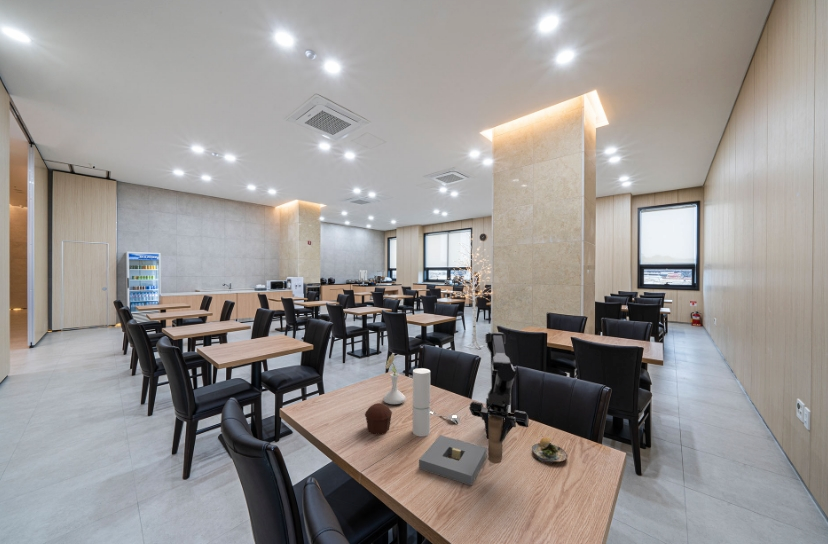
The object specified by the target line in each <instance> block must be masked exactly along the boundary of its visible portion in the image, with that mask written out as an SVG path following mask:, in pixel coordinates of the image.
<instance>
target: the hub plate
mask: <svg viewBox="0 0 828 544" xmlns="http://www.w3.org/2000/svg"><path fill="white" fill-rule="evenodd" d="M449 456H450V457H449ZM487 457H488V447H486V446H482V445H479V444H475V443H471V442H467V441H464V440H460V439H455V438H452V437H449V436H445V435H442V434H441V435H439V436H438V437H437V438H436V440H435V441H434V442H433V443H432V444H431V445H430V446H429V448H427V450H425V452H424V453H423V454H422V456H421V457H420V458H419V459H418V469H419V470H421V471H425V472H428V473H431V474H434V475H438V476H440V477H443V478H447V479H449V480H453V481H456V482H458V483H461V484H465V485H468V486H473V484H474V481H475V480H476V477H477V476H478V474H479V472H480V471H481V468H482V466H483V464H484V462H485V460H486V458H487Z"/></svg>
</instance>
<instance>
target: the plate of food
mask: <svg viewBox="0 0 828 544" xmlns="http://www.w3.org/2000/svg"><path fill="white" fill-rule="evenodd" d="M541 437H542V438H541V439H540V441H539V443H536V444H534V445H532V447H531V455H532V457H533V458H534V459H536V460H537V461H539V462H540V463H544V464H546V465H548V466H552V465H553V463H560V462H563V461H565V460H567V458H568V454H567V451H565V450H564V449H563V448H562V447H560V446H558V445H556V444H553V443H552V442H551V439H550V438H548V437H544V436H543V435H541Z"/></svg>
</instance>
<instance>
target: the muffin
mask: <svg viewBox="0 0 828 544" xmlns="http://www.w3.org/2000/svg"><path fill="white" fill-rule="evenodd" d="M392 414H393V411H392V410H391V409H390V408H389V407H388V405H386V404H384V403H381V402H379V403H374V404H372V405H371V406H369V407H368V408H367V410H366V411H365V413H364V416H365V420H366V426H367V430H368V431H367V432H368V433H369V434H371V435H378V436H380V435H383V434H387V432H388V431H389V430H390V426H391V420H392Z"/></svg>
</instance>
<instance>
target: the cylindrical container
mask: <svg viewBox="0 0 828 544" xmlns="http://www.w3.org/2000/svg"><path fill="white" fill-rule="evenodd" d="M430 409H431V370H430V369H428V368H423V367H421V368H415V369H413V370H412V435H414V436H417V437H427V436H429V435H430V434H431V414H430V412H431V411H430Z"/></svg>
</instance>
